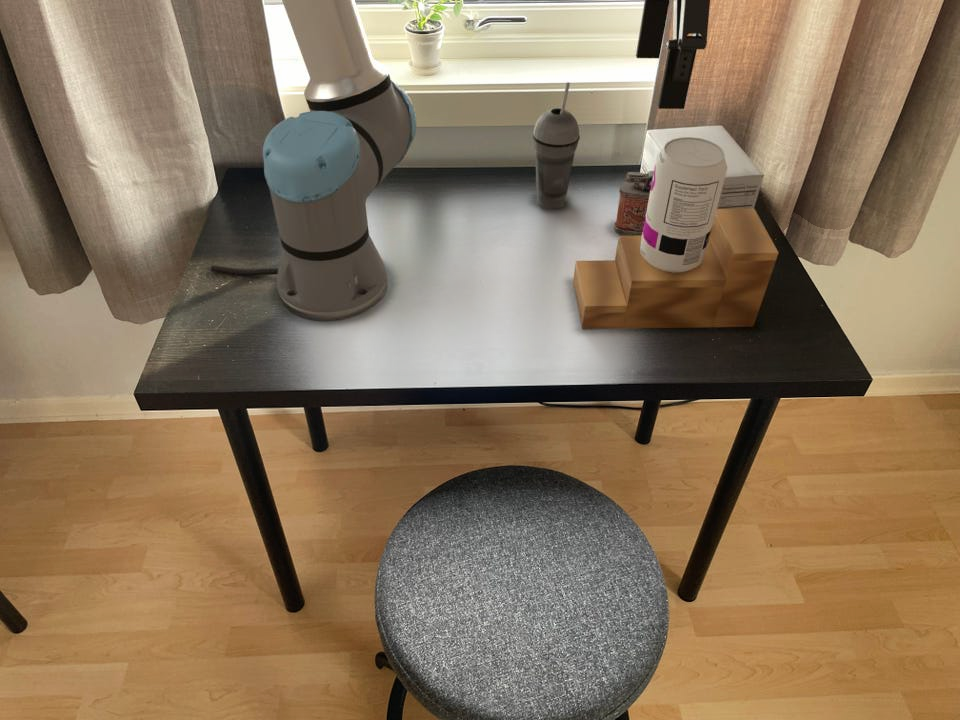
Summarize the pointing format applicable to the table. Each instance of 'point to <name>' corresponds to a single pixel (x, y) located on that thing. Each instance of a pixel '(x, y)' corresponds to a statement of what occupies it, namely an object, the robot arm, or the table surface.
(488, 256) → the table surface
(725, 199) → the supplement box
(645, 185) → the lighter
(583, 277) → the step shelf
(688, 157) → the supplement can
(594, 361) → the table surface
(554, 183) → the beverage cup
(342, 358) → the table surface
